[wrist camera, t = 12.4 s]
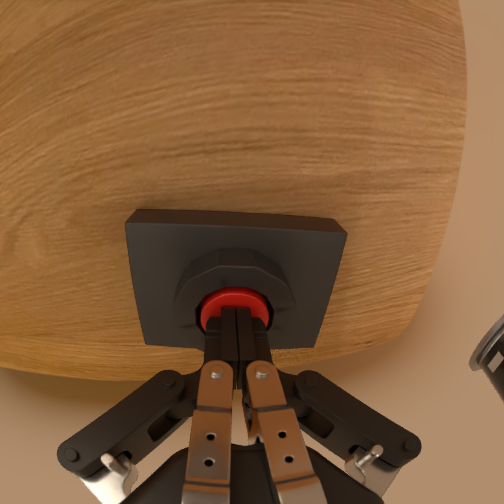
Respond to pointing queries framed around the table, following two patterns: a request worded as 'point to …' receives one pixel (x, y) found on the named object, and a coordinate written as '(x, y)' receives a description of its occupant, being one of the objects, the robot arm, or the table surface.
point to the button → (234, 303)
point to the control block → (231, 270)
